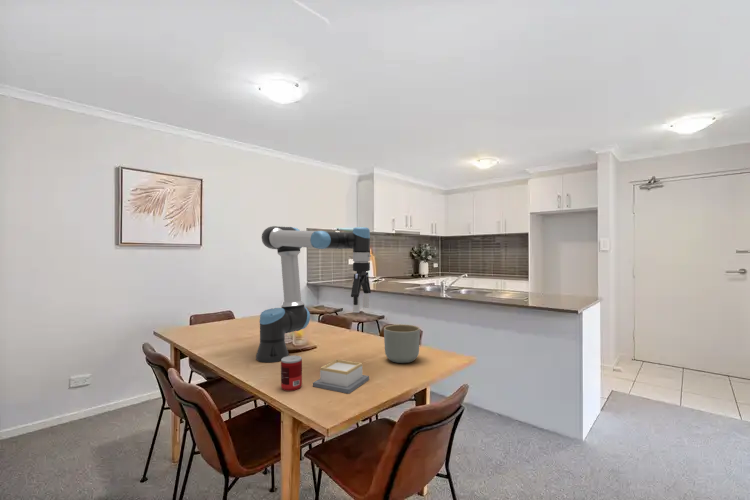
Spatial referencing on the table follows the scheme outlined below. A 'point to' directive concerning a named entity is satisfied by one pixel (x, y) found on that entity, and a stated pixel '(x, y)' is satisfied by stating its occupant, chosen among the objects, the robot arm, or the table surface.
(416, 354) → the planter
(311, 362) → the table surface
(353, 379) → the base
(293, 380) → the canned food
